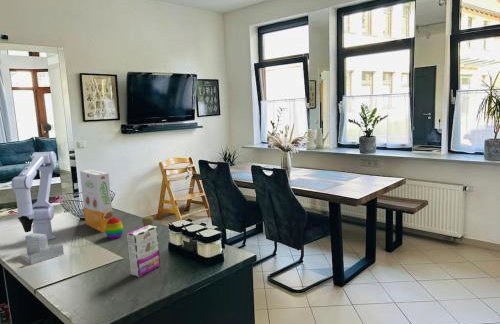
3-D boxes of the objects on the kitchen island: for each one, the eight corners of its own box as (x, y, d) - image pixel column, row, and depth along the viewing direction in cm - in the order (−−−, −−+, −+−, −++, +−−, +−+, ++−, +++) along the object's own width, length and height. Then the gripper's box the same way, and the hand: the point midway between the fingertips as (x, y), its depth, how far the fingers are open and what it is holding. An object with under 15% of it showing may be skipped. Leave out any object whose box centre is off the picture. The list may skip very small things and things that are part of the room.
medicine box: (49, 252, 164) (47, 234, 163) (40, 256, 160) (38, 237, 158) (35, 251, 166) (33, 232, 165) (27, 254, 162) (24, 236, 161)
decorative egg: (126, 234, 185) (124, 214, 184) (119, 239, 177) (117, 219, 176) (111, 234, 186) (109, 215, 185) (103, 239, 178) (101, 219, 177)
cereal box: (113, 229, 193) (108, 173, 189) (102, 232, 189) (96, 175, 185) (96, 221, 209) (91, 169, 205) (85, 223, 205) (79, 170, 201)
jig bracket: (21, 258, 159) (19, 249, 158) (52, 248, 169) (51, 240, 168) (31, 264, 151) (30, 255, 151) (63, 254, 161) (62, 245, 161)
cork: (152, 241, 173) (150, 218, 172) (140, 240, 175) (138, 218, 173) (157, 236, 179) (156, 215, 178) (146, 236, 180) (144, 214, 179)
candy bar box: (152, 263, 148) (148, 224, 145) (161, 266, 145) (157, 226, 143) (129, 274, 138) (125, 233, 136) (138, 277, 136) (135, 235, 133)
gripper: (8, 202, 167) (12, 231, 169) (20, 206, 158) (24, 237, 160) (25, 199, 173) (29, 227, 174) (38, 203, 163) (41, 232, 165)
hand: (28, 231), depth 168 cm, fingers closed
